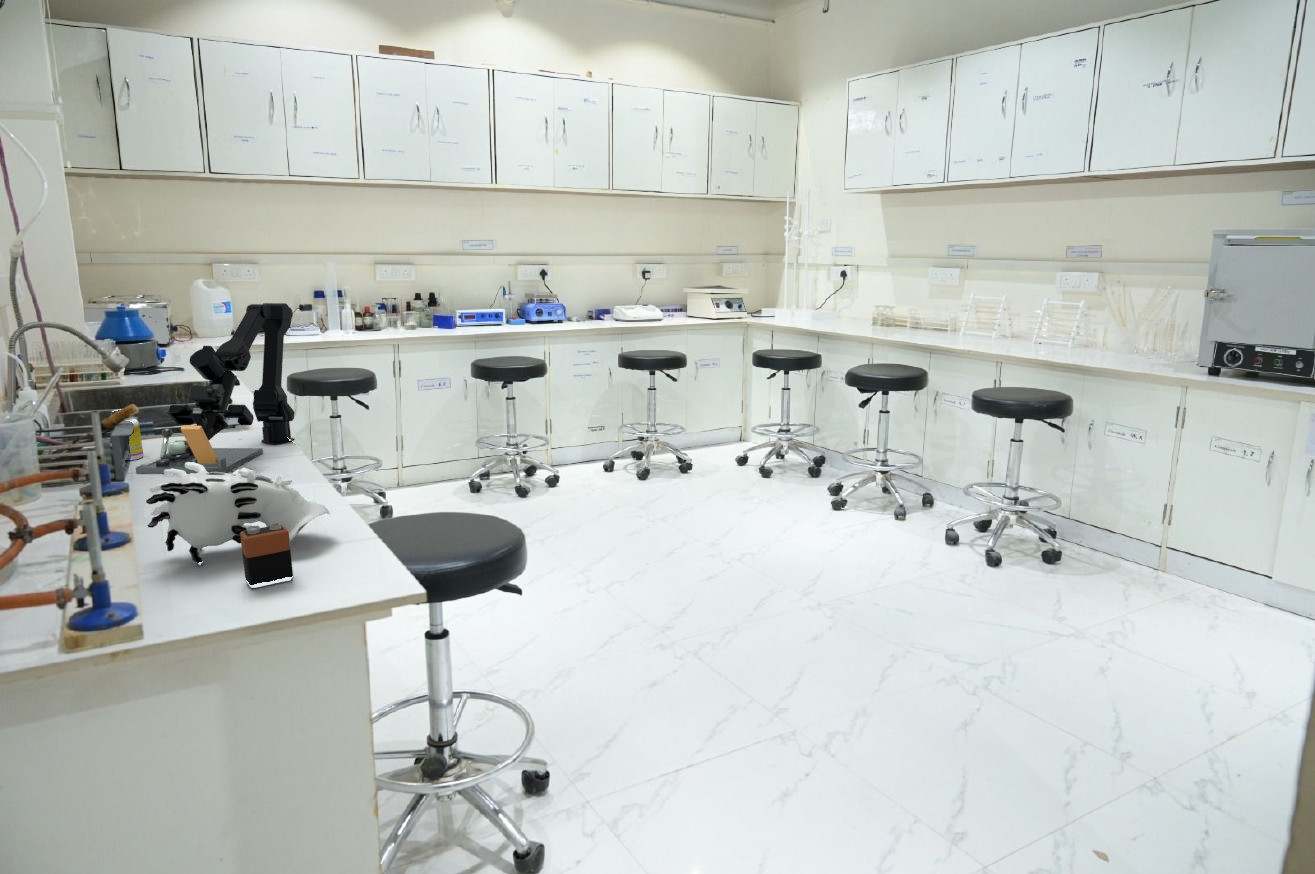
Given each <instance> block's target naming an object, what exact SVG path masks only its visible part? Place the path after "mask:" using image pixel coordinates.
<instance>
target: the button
mask: <svg viewBox="0 0 1315 874" xmlns="http://www.w3.org/2000/svg"><path fill="white" fill-rule="evenodd" d="M176 441H177V442H175V441H171V442H168V447H167V453H168V454H182V453H185V444H184V442H182V441H181V440H176Z"/></svg>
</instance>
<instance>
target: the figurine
mask: <svg viewBox="0 0 1315 874" xmlns="http://www.w3.org/2000/svg"><path fill="white" fill-rule="evenodd" d="M185 468H187V469H190V470H194V471H196V472H198V473H190V474H187V473H186V472H185V471H184V470H178V469H173V468H172V469H167V470H164V474H163V475H165V476H169V477H170V476H171V477H173V476H175V477H176V478H179V482H165V483H157V484H155V485H154V486H153V487H151V488H149V489H148V490H149V492H150V493H153V495H152V496H151V497H149V498H147V499H146V501H145V503H146V504H148V505H153V504H154V505H155V504H156V503H158V502H161V504H160V505H155V507H154V509H153V510H152V511H151V512H150V516H154V517H152V518H151V521H150V522H149V523H148V524H147V528H152V529H153V528H155V527H156V526H158V524H159V522H163V521H164V520H168V521H167V522H168V527H167V530H166V534H167V536H166V540H165V542H164V543H165V544H166V547H167V548H166V549H167V552H172V550H174V547H175V543H174V541H175V540H176V536H178V537H180V538H181V539H183V540H184V541H185V542H187V543H188V544H189V545H190V547H189V550H188V552H189V553H190V556H191V559H192V561H193V562H195V563H196V562H197V563H196V564H198V563H199V562H202V561H203V557H201V556H199V555H200V553H199V551H201V550H203V549H204V548H207V547H217V546H221V545H223V544H225V543H227V542H229V541H234V542H236V543H238V544H241V537H240V533H241V532H242V531H246V528H247V527H250V526H252V525H251V524H253V523H257V522H260V523H263V524H265V527H268V526H270V524H273V523H280V524H281V525H283V526H284V527H285V528H286V529H287V530H288V532H289V540H290V542H291V541H292V540H294V538H295V537H296V536H297V535H298V534H299V533H300V532H301V531H302V530H303V529H304V528H305V526H307V525H308V523H310V522H311V521H312V520H314V519H315V518H318V517H320V516H322V515H325V514H328V515H330V511H329V510H328V508H327V507H326V506H325V505H324V504H321V503H318V502H315V501H309V500H307V499H305V497H303V496H301V494H300V493H299V492H300V491H298V490H297V489H294V488H293V487H290V485H291V484H292V483H293V479H291V478H290V479H285V478H283V476H282V475H281V474H276V479H274V478H271V477H268V476H265V475H261V474H260V475H258V474H257V472H256V470H252V469H250V468H246V467H241V468H239V469H236V470H235V471H233V472H232V473H229V472H228V473H222V472H209V473H208V472H207V471H206V470H205V467H204V466H203V465H200V464H197V463H194V462H186V463H185ZM160 491H162V492H161V493H158V492H160ZM154 493H156V494H154ZM162 502H163V503H162ZM244 524H250V525H244ZM200 549H201V550H200ZM203 562H204V561H203Z"/></svg>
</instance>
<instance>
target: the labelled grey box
mask: <svg viewBox="0 0 1315 874" xmlns="http://www.w3.org/2000/svg"><path fill="white" fill-rule="evenodd" d="M177 441H178V440H175V441H174V442H177ZM180 441H182V442H184V444H185V446H189V444H188V443H187V441H186V439H185V440H184V439H183V440H182V439H181V440H180Z"/></svg>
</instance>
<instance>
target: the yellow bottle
mask: <svg viewBox="0 0 1315 874" xmlns="http://www.w3.org/2000/svg"><path fill="white" fill-rule="evenodd" d="M118 410H121V408H120V409H115V410H111V412H114V411H118ZM126 421H130V422H132V423H133V424H134V433H133V434H132V435H131V437H130V452H131V459H132V460H131V461H134V460H135V461H136V460H139V459H142V457H144V449H143V442H142V435H141V429H140V422H139V420H137V419H136V418H130V419H129V420H126Z"/></svg>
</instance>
